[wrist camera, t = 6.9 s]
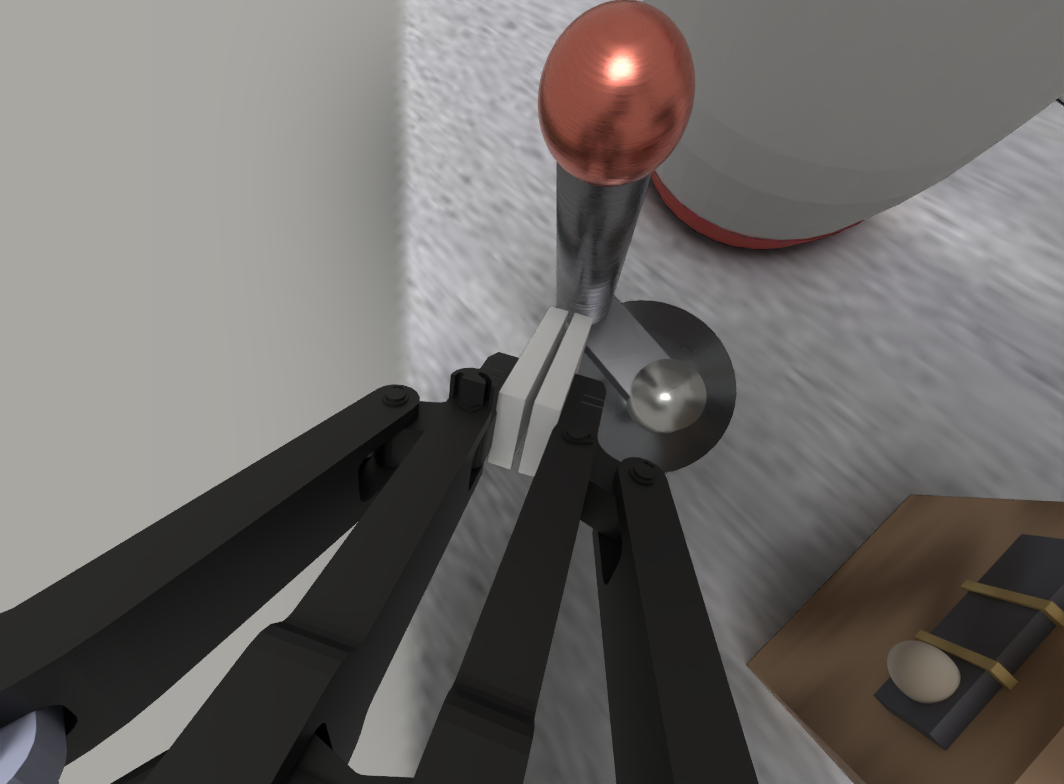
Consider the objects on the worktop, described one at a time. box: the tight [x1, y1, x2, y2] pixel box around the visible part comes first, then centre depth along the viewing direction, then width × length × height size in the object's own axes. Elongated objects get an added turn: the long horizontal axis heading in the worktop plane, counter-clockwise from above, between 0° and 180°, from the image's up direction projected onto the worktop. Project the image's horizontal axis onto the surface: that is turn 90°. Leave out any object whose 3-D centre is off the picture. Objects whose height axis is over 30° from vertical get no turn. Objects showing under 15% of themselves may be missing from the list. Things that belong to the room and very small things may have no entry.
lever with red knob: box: [538, 0, 736, 472], centre depth 14 cm, size 10×8×15 cm
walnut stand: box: [747, 495, 1064, 784], centre depth 14 cm, size 11×8×10 cm
